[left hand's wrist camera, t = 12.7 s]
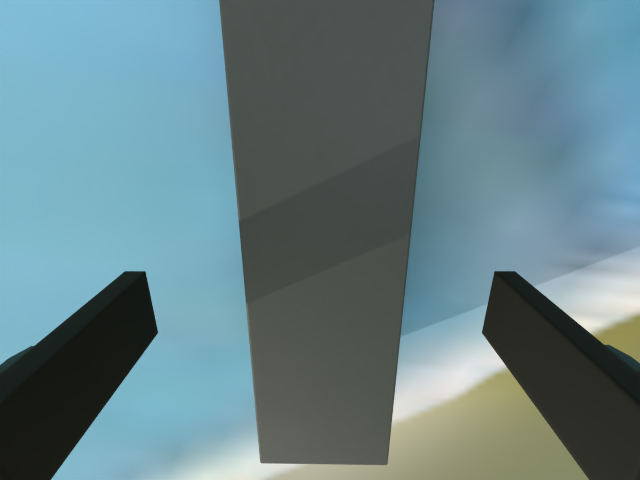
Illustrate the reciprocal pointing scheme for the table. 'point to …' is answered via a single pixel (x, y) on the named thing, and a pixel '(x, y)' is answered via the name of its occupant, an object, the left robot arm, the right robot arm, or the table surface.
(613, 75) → the table surface
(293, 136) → the bar
